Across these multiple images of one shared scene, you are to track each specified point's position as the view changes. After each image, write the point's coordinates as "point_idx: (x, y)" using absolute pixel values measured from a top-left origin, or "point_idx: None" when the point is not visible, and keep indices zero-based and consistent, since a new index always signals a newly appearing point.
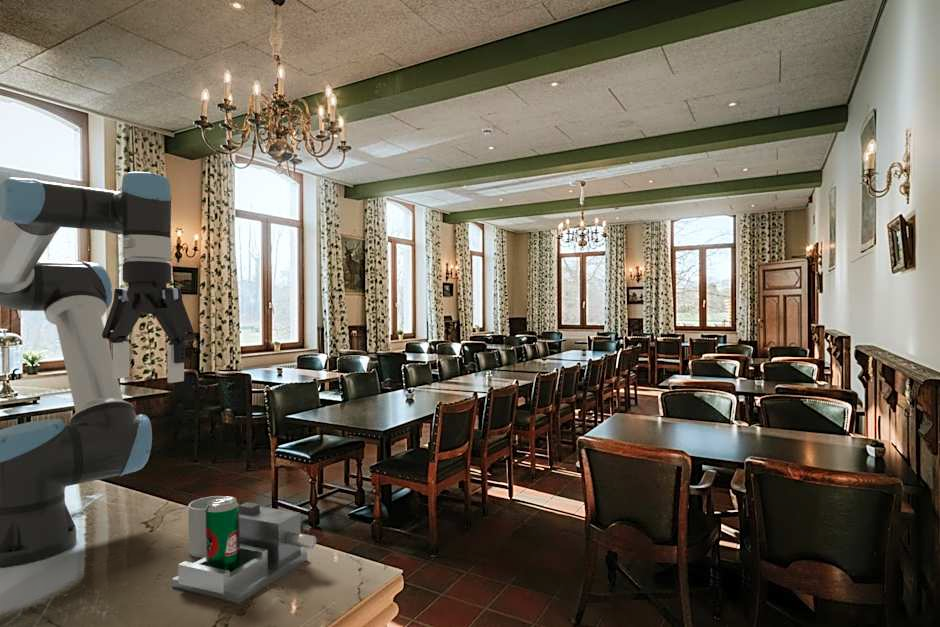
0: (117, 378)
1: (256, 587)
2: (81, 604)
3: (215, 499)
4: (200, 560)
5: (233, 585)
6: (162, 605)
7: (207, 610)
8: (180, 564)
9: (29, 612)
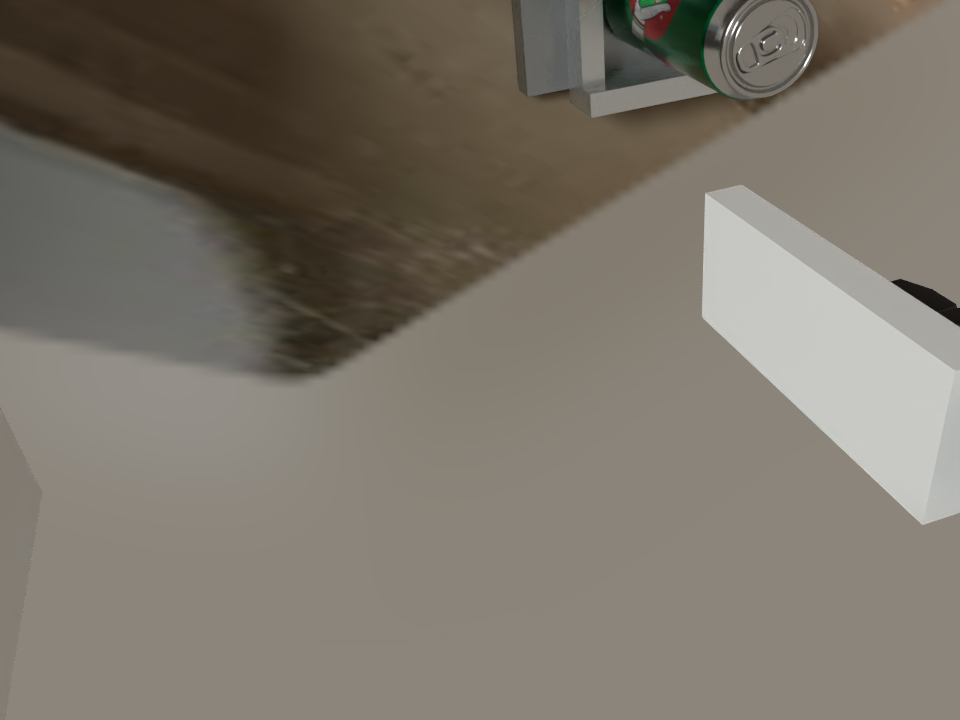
0: (32, 477)
1: None
2: (385, 266)
3: (735, 46)
4: (586, 31)
5: None
6: (578, 154)
7: (701, 105)
8: (598, 114)
9: (313, 349)
